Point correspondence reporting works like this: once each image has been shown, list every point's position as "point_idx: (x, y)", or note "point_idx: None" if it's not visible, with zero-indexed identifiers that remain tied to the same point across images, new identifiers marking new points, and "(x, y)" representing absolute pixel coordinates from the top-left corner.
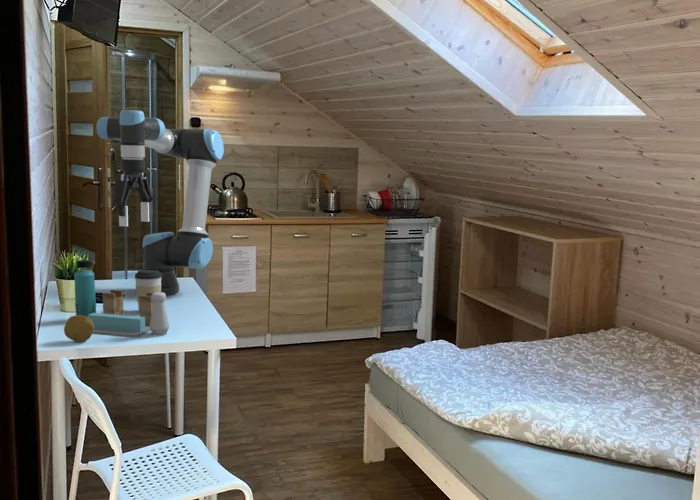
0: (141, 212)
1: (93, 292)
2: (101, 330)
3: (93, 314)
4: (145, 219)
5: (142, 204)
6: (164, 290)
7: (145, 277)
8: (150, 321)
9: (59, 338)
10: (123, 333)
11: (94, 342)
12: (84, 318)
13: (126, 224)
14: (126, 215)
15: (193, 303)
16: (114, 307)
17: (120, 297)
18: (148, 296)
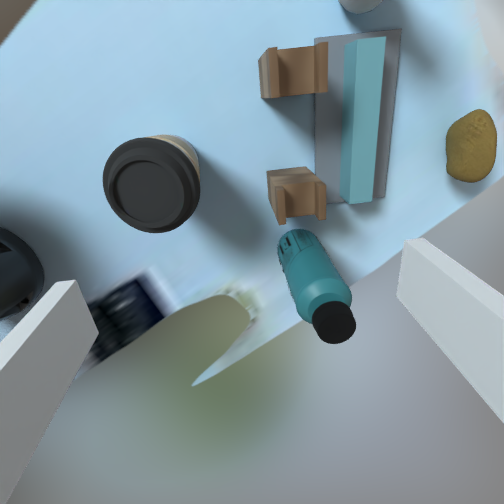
0: (61, 389)
1: (309, 254)
2: (377, 149)
3: (364, 192)
4: (77, 312)
5: (3, 470)
6: (2, 237)
7: (191, 171)
8: (377, 3)
9: (432, 198)
10: (390, 79)
11: (452, 108)
12: (496, 134)
13: (433, 247)
14: (490, 289)
15: (19, 102)
16: (314, 175)
17: (287, 184)
18: (325, 54)
